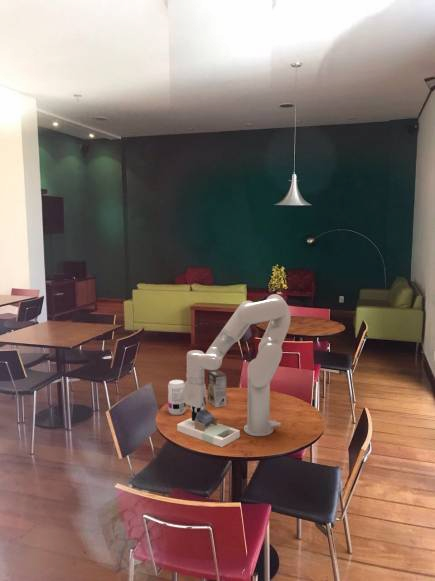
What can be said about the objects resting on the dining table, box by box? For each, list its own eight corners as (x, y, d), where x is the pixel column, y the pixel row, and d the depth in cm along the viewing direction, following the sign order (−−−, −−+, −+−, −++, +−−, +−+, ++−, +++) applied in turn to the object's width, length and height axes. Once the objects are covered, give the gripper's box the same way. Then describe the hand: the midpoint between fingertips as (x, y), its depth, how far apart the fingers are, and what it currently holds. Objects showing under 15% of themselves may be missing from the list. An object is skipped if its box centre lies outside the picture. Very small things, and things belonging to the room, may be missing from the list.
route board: (239, 437, 197) (239, 423, 196) (221, 447, 187) (221, 433, 187) (195, 422, 212) (195, 409, 212) (177, 430, 203) (176, 417, 203)
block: (210, 424, 202) (213, 415, 200) (202, 428, 198) (205, 419, 196) (201, 417, 205) (205, 408, 203) (194, 421, 201) (197, 412, 199)
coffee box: (207, 401, 238) (207, 371, 236) (219, 399, 241) (218, 369, 239) (215, 407, 230) (214, 375, 228) (226, 405, 232) (226, 374, 230)
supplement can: (165, 413, 223) (164, 383, 221) (174, 407, 230) (174, 378, 228) (179, 416, 219) (179, 385, 217) (188, 410, 226) (188, 380, 224)
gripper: (177, 377, 203) (177, 418, 206) (202, 385, 194) (202, 427, 196) (189, 373, 209) (189, 413, 211) (214, 380, 199) (214, 422, 202)
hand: (195, 420), depth 204 cm, fingers closed
